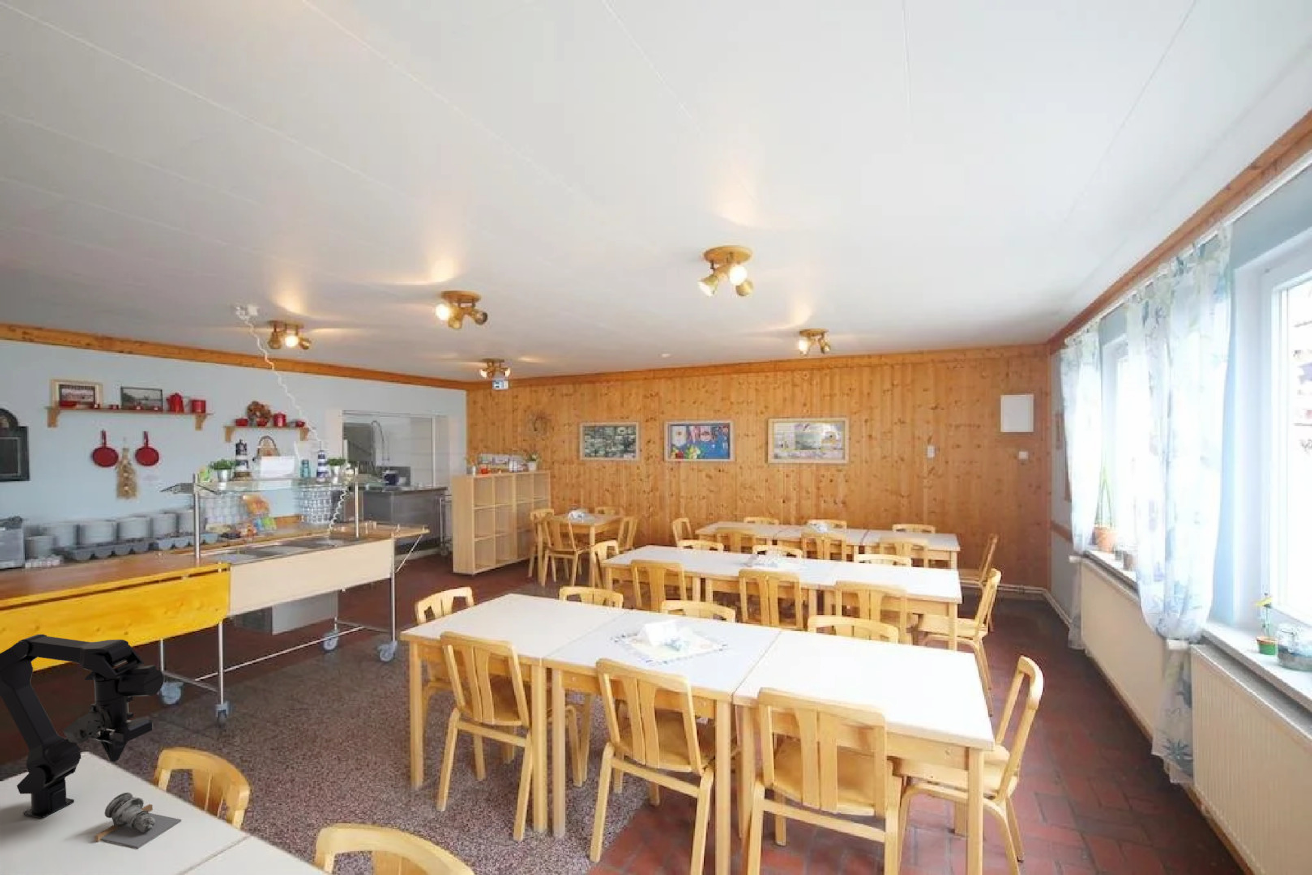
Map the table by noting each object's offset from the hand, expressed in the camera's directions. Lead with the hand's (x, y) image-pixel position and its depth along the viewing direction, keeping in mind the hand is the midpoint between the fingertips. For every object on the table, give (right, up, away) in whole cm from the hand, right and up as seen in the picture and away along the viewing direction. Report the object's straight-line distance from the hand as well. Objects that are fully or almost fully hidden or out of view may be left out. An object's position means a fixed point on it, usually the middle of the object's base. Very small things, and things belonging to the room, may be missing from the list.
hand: (114, 760), depth 140 cm
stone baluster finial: (+6, -7, -6) cm, 11 cm away
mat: (+14, -11, -8) cm, 19 cm away
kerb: (+8, -11, -6) cm, 15 cm away
